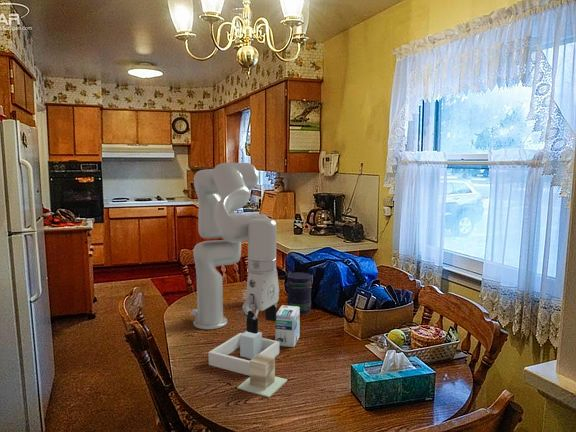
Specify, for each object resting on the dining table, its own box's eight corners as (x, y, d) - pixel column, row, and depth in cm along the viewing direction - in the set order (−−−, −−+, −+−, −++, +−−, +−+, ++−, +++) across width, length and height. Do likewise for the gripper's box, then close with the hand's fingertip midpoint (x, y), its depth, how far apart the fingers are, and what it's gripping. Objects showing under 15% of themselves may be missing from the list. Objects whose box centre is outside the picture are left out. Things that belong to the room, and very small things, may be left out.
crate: (208, 364, 134) (208, 352, 133) (240, 344, 148) (240, 332, 148) (250, 376, 127) (250, 362, 126) (279, 353, 142) (279, 341, 141)
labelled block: (265, 389, 118) (265, 364, 118) (249, 384, 121) (249, 360, 120) (274, 381, 123) (274, 357, 122) (258, 377, 125) (258, 353, 124)
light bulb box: (294, 347, 146) (294, 316, 145) (274, 346, 147) (274, 314, 146) (300, 335, 156) (300, 305, 155) (281, 333, 158) (281, 304, 156)
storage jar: (315, 309, 184) (315, 274, 182) (303, 316, 175) (303, 279, 173) (294, 305, 189) (295, 271, 187) (282, 311, 181) (282, 276, 179)
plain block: (240, 356, 140) (239, 335, 139) (248, 350, 144) (248, 329, 143) (253, 359, 137) (253, 338, 136) (261, 353, 142) (261, 332, 141)
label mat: (237, 388, 120) (237, 386, 120) (256, 372, 129) (256, 371, 129) (269, 397, 115) (269, 396, 115) (287, 380, 124) (287, 379, 124)
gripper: (257, 274, 108) (256, 340, 111) (289, 259, 124) (288, 318, 126) (231, 270, 112) (232, 334, 114) (266, 256, 127) (266, 313, 130)
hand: (261, 326), depth 120 cm, fingers open, 9 cm apart
